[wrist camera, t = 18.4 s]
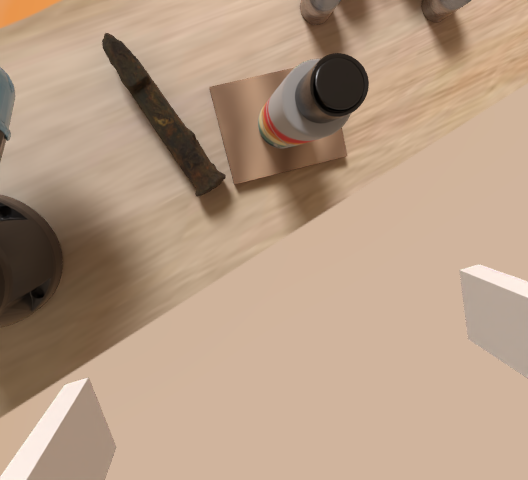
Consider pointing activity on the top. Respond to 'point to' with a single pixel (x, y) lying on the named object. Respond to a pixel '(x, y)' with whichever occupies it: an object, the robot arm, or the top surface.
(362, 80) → the lotion bottle
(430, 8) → the steel spacers
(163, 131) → the hand tool
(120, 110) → the top surface
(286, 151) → the brown wooden flat board
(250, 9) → the top surface
